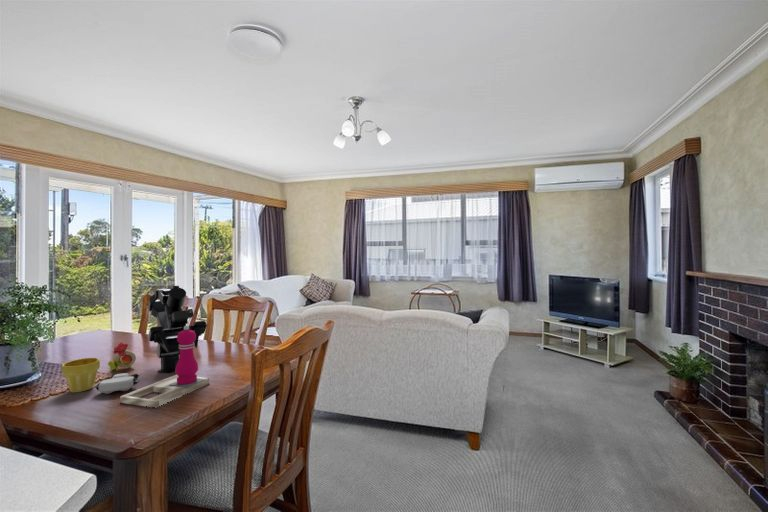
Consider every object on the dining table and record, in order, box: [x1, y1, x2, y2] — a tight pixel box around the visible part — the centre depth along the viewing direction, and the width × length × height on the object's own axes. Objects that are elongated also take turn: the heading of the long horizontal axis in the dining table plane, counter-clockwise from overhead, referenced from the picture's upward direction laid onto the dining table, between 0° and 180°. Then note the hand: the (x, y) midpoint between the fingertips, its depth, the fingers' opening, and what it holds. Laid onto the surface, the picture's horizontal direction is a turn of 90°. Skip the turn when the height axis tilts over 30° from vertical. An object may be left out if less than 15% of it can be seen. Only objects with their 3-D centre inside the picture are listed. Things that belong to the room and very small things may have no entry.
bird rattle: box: [107, 342, 137, 372], centre depth 153 cm, size 6×11×9 cm
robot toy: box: [93, 372, 141, 395], centre depth 131 cm, size 12×4×15 cm
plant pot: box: [61, 357, 101, 393], centre depth 131 cm, size 10×10×10 cm
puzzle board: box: [119, 374, 210, 409], centre depth 127 cm, size 15×22×2 cm
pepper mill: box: [174, 325, 199, 385], centre depth 131 cm, size 7×7×20 cm
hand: (182, 349), depth 135 cm, fingers open, 9 cm apart
